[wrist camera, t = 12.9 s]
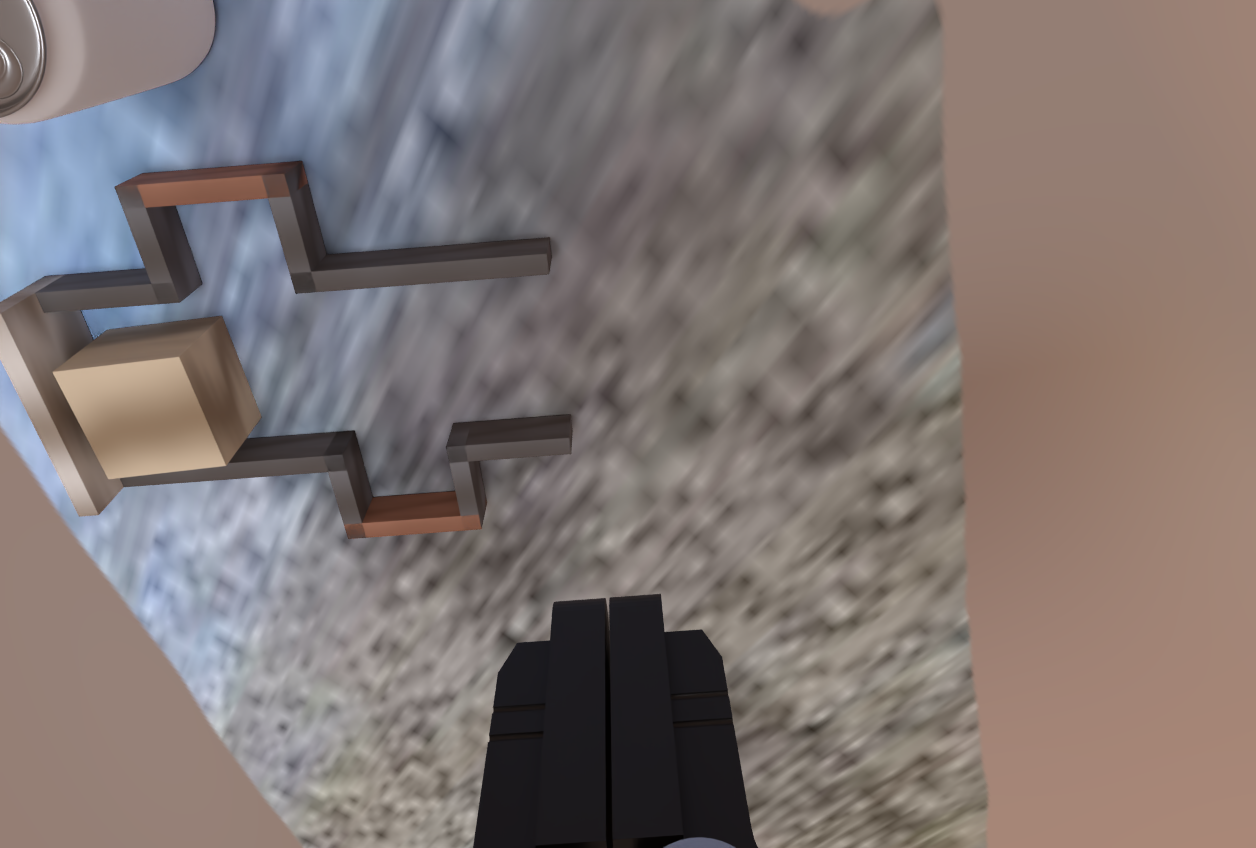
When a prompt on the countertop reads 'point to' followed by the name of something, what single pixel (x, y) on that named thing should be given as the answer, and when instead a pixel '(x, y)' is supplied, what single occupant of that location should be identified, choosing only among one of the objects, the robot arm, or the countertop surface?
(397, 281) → the channel
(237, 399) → the maple block
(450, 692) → the countertop surface
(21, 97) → the can
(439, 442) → the countertop surface
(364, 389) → the countertop surface
